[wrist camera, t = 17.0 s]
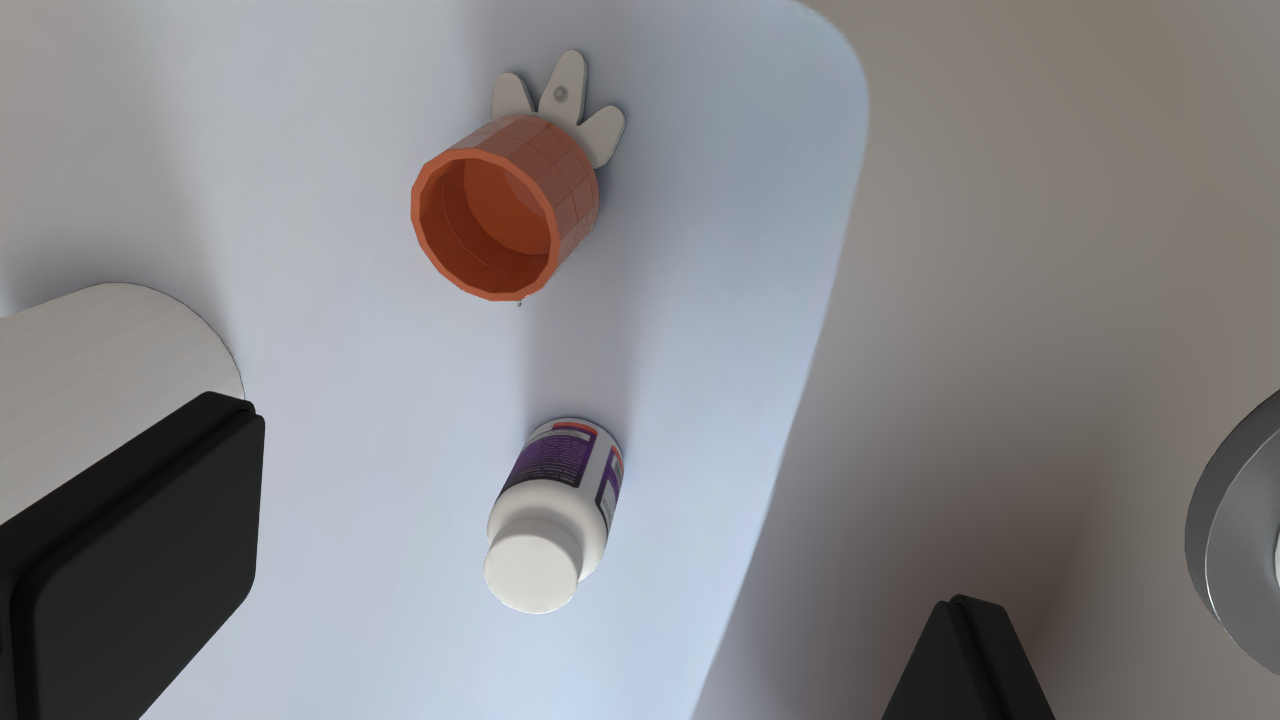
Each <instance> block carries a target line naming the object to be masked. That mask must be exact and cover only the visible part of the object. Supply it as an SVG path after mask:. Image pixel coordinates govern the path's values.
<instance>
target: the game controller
mask: <svg viewBox="0 0 1280 720" xmlns="http://www.w3.org/2000/svg"><path fill="white" fill-rule="evenodd" d="M586 82H587V64H586V61H585V59H584V58H583V57H582V55H581V54H580V53H579V52H578V51H576V50H568V51H566V52H565V53H564V54H562V56H561V57H560V58H559V60H558V62H557V64H556V67H555V69H554V71H553V73H552V75H551V77H550V79H549V82H548V84H547V86H546V88H545V90H544V92H543V94H542V97H541V99H540V102H539V107H538V112H535V108H534V106H533V103H532V100H531V98H530V95H529V92H528V90H527V87H526V84H525V83H524V81H523V80H522V79H520V78H519V77H518V76H516V75H515V74H513V73H509V72H506V73H502V74H500V75H499V76H498V77H497V79H496V80H495V84H494V91H493V100H492V109H491V119H492V121H493V120H495V119H497V118H500V117H503V116H509V115H529V116H533V117H537V118H541V119H543V120H546V121H548V122H550V123H552V124H554V125H556V126H558V127H559V128H560V129H562V130H563V131H565V132H566V133H567V134H568V135H569V136H571V137H572V138H573V139H574V140H575V141H576V142H577V144H578V145H579V146H580V147H581V148H582V150H583V151H584V153H585V154H586V155H587V157H588V159H589V161H590V163H591V165H592V167H593V169H596V168H598V167H601V166H603V165H605V164H606V163H607V162H608V160H609V159H610V158H611V157H612V155H613V153H614V151H615V149H616V147H617V144H618V142H619V140H620V138H621V135H622V133H623V131H624V129H625V125H626V119H625V117H624V115H623V113H622V112H621V111H620V110H619V109H618V108H616V107H614V106H606V107H603V108H602V109H600V110H599V111H598V112H597V113H595V114H594V115H593V116H591V117H590V118H589V119H588V120H586V121H585V122H584V123H582V124H581V125H580V126H578V125H579V123H580V122H581V120H582V117H583V112H584V103H585V92H586ZM521 304H522V303H520V300H518V302H517V307H520V306H521Z"/></svg>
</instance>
